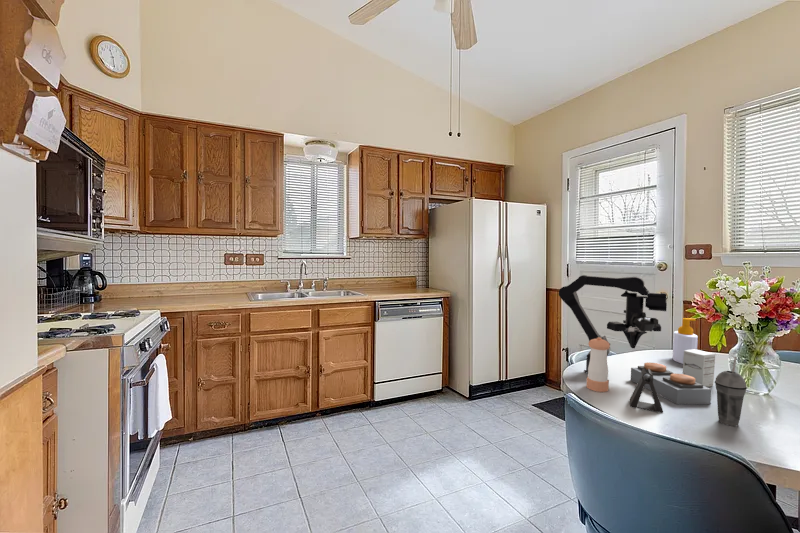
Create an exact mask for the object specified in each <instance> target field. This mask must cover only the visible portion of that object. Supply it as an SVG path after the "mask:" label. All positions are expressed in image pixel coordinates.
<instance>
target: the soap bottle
mask: <svg viewBox="0 0 800 533" xmlns="http://www.w3.org/2000/svg"><path fill="white" fill-rule="evenodd" d="M691 322H696V318H690V317H687V318H686V317H683V318H682V323H681V326H679V327H677V328H678V329H677V330H674V331H673V340H672V342H673V343H672V360H673V361H675V362H676V363H678V364H681V365H683V358H684V351H685V350H691V349H697V350H698V342H699V341H698V337H699V336H698V335H697V334H695V333H694V329H693V327H691V326H690V325H691V324H690V323H691Z"/></svg>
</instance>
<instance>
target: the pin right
mask: <svg viewBox="0 0 800 533" xmlns="http://www.w3.org/2000/svg"><path fill="white" fill-rule="evenodd" d="M670 380H672V381H674V382H677V383H680V384H687V385H693V384H695V378H694V377H692V376H688V375H684V374H683V373H674V374H670Z"/></svg>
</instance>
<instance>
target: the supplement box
mask: <svg viewBox="0 0 800 533" xmlns="http://www.w3.org/2000/svg"><path fill="white" fill-rule="evenodd" d="M715 364H716V353H714V352H708V351H704V350H701V349H698V348H697V349H691V350H685V351H684V358H683V364H682V374H684V375H688V376H692V377H694V378H695V382H697V383H699V384H702V385H703V386H705V387H707V388H709V387H713V386H714V382H715V381H714V379H715Z"/></svg>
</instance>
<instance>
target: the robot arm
mask: <svg viewBox="0 0 800 533" xmlns="http://www.w3.org/2000/svg"><path fill="white" fill-rule="evenodd" d="M584 286H597V287H607V288H615V289H616V288H617V289H620V290H624V292H623V293H622V294H621V295H620V296H621V297H624V298H626V300H625V301H626V302H625V303H626V304H625V309H624V310H623V313H624V314H625V319H624V320H623V321H622V322H619V321H608V323H607V324H606V329H607V330H610V331H613V332H622V333H623V334H624V336H625V337H626V339H627V341H628V344H629V347H630V348H631V349H635V348H636V347H637V344H638V342H639V341H640V339H641V337H642V336H643V335H645V334H647V333H648V332H662V326H661V324H660V323H659V319H658V318H657V317H651V318H649V317H648V318H647V313H646V312H645V311H644V306H645V308H647V309H648V311H655V312H667V308H668V307H667V306H668V302H667V293H666V292H665V293H664V292H659V293H658V292H650V290H648V288H647V287H646V286H645V281H644V279H643V278H642V277H640V276H626V277H606V276H597V275H596V276H593V275H585V274H583V275H580V276H578V277H577V278H576V279H575V280H574V281H572V282H571V283H570V284H568V285H566V286H562V287H561V288H560V289H559V290H558V296H559V298H560V299H561V300H562V301H563V303H564V304H565V305H567V307H569V308H570V309H571V311H572V313H573V314H574V316H575V318H576V320H577V321H578V323H579V325H580V326H581V328H582V330H583V332H584V334H585V335H586V336H587V339H588V342H589V341H590V340H592V339H597V337H600V338H602V339H603V340H606V341H607V342H608V343H609V344H610V345H611V343H610V342H609V341H608V339H607V337H606V335H603V336H601V334H599V332H598V331H597V329H596V327H595V326H594V324H593V323H592V321H591V319H590V318H589V316H588V314H587V313H586V311H585V310H584V308H583V306H582V304H581V302H580V299H579V295H578V293H577V292H578V291H579V290H580V289H582V288H583V287H584ZM628 291H629V292H628ZM638 294H639V295H638ZM644 299H645V300H644ZM644 301H645V305H644ZM590 352H591V350H589V352H588V353H587V355H586V358H585V359H586V360H585V361H586V363H585V365H586V366H585V369H584V370H583V372H584V371H585V372H584V373H586V374H588V367H589V362H590ZM610 352H611V346H610V347H609V349H608V350H607V357H608V355H610Z"/></svg>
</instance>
